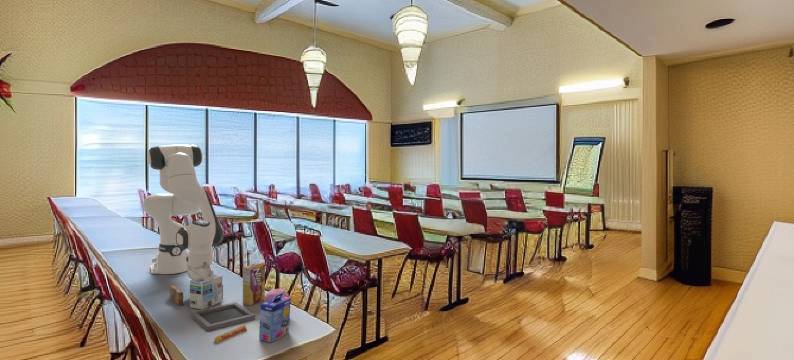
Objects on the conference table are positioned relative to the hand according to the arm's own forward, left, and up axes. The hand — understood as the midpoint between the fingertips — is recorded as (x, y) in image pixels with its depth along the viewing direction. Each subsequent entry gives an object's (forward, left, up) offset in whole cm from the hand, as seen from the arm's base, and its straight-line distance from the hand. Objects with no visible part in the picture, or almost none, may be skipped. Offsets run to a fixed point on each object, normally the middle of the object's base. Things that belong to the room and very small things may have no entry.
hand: (200, 293), depth 168 cm
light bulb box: (+7, 0, -3) cm, 8 cm away
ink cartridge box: (+50, +7, -3) cm, 51 cm away
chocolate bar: (+41, -4, -3) cm, 41 cm away
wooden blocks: (-4, 0, -3) cm, 5 cm away
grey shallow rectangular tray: (+24, 0, -3) cm, 24 cm away
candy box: (+15, +16, -3) cm, 22 cm away
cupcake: (+34, +16, -3) cm, 38 cm away
